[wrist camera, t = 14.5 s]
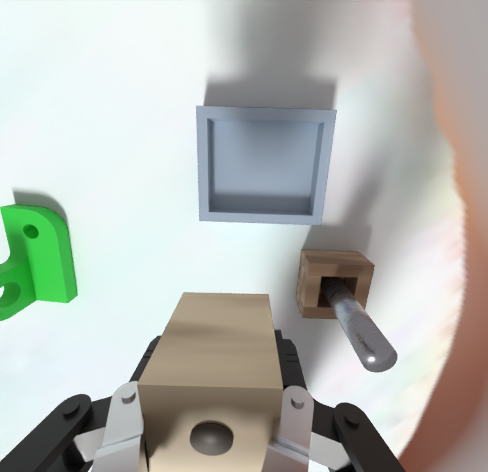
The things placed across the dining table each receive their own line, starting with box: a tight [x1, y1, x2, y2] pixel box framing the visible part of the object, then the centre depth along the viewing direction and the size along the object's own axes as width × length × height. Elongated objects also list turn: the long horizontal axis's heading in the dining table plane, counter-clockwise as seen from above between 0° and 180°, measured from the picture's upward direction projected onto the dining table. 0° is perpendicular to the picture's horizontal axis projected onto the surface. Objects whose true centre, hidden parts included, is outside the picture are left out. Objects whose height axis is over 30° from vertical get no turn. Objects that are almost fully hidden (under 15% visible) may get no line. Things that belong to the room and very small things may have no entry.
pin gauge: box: [320, 276, 397, 372], centre depth 23 cm, size 3×3×12 cm
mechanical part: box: [0, 204, 77, 321], centre depth 26 cm, size 12×6×8 cm, turn 174°
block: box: [137, 292, 283, 472], centre depth 11 cm, size 5×5×6 cm
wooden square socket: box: [296, 250, 375, 319], centre depth 28 cm, size 7×7×4 cm
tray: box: [196, 106, 337, 225], centre depth 24 cm, size 11×13×3 cm
